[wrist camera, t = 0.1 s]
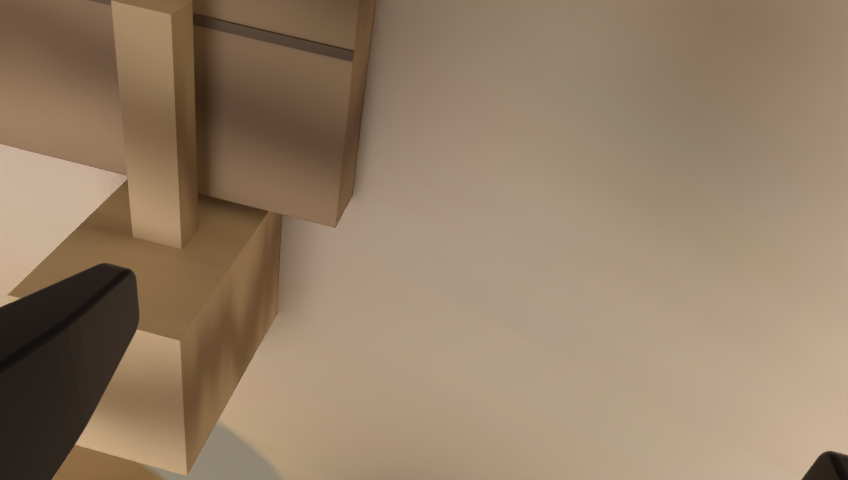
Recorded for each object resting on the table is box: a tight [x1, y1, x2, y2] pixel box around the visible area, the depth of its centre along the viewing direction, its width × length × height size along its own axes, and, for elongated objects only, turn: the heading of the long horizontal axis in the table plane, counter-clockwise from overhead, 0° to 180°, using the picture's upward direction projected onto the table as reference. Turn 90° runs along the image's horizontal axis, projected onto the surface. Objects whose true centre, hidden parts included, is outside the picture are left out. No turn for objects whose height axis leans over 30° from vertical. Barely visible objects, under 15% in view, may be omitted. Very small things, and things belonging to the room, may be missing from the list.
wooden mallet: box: [8, 0, 282, 476], centre depth 23 cm, size 14×5×8 cm, turn 171°
